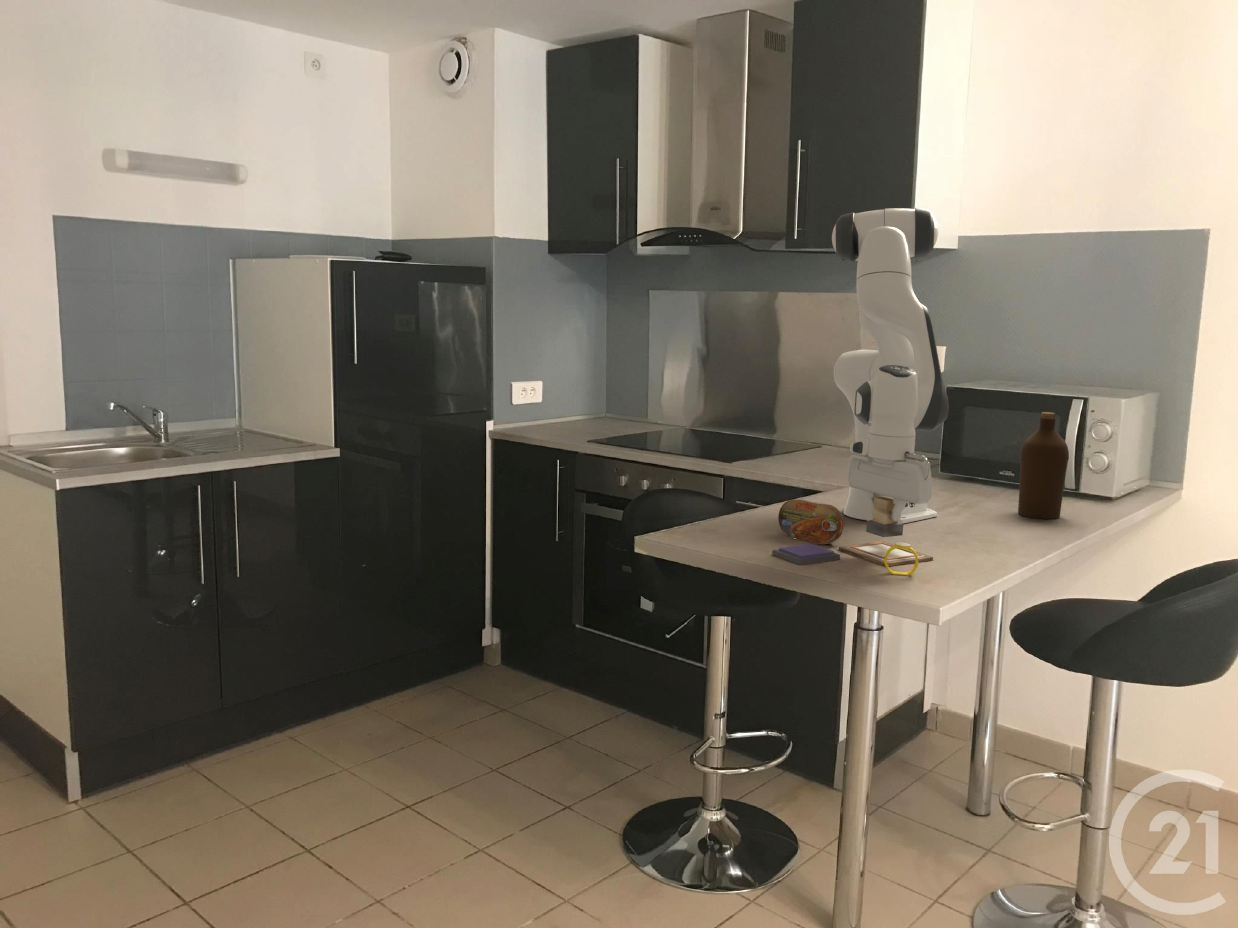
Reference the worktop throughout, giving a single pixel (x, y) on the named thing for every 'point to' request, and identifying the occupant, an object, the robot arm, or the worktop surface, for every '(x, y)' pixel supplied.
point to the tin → (810, 521)
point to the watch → (901, 546)
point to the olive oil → (1043, 471)
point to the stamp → (883, 519)
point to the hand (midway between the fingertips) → (885, 517)
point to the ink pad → (805, 554)
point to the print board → (878, 551)
